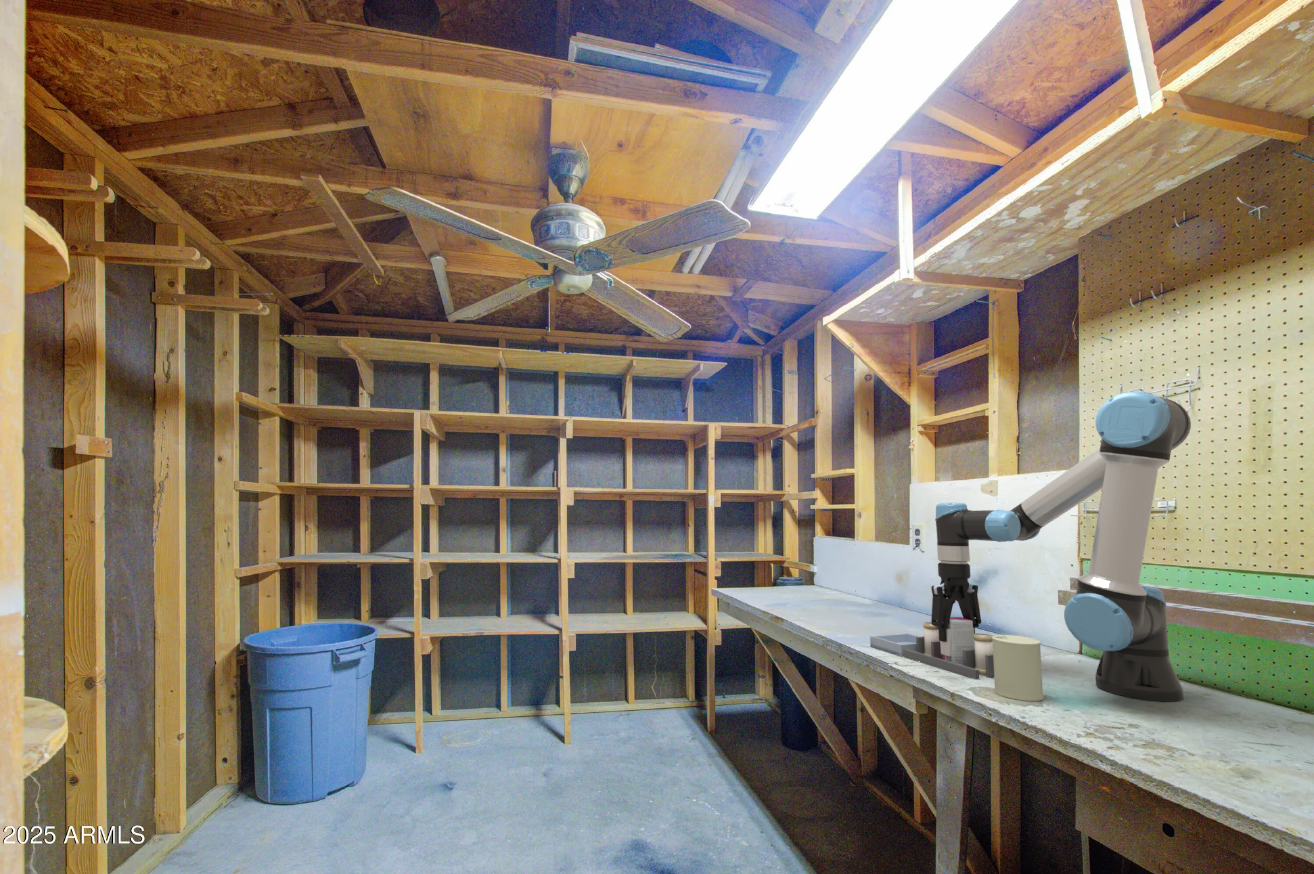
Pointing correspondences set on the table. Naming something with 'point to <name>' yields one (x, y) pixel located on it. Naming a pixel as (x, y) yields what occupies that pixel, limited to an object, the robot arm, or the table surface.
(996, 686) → the can
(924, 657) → the holder
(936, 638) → the cylinder
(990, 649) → the cylinder
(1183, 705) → the table surface
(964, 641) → the supplement box
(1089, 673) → the table surface
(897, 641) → the tray
